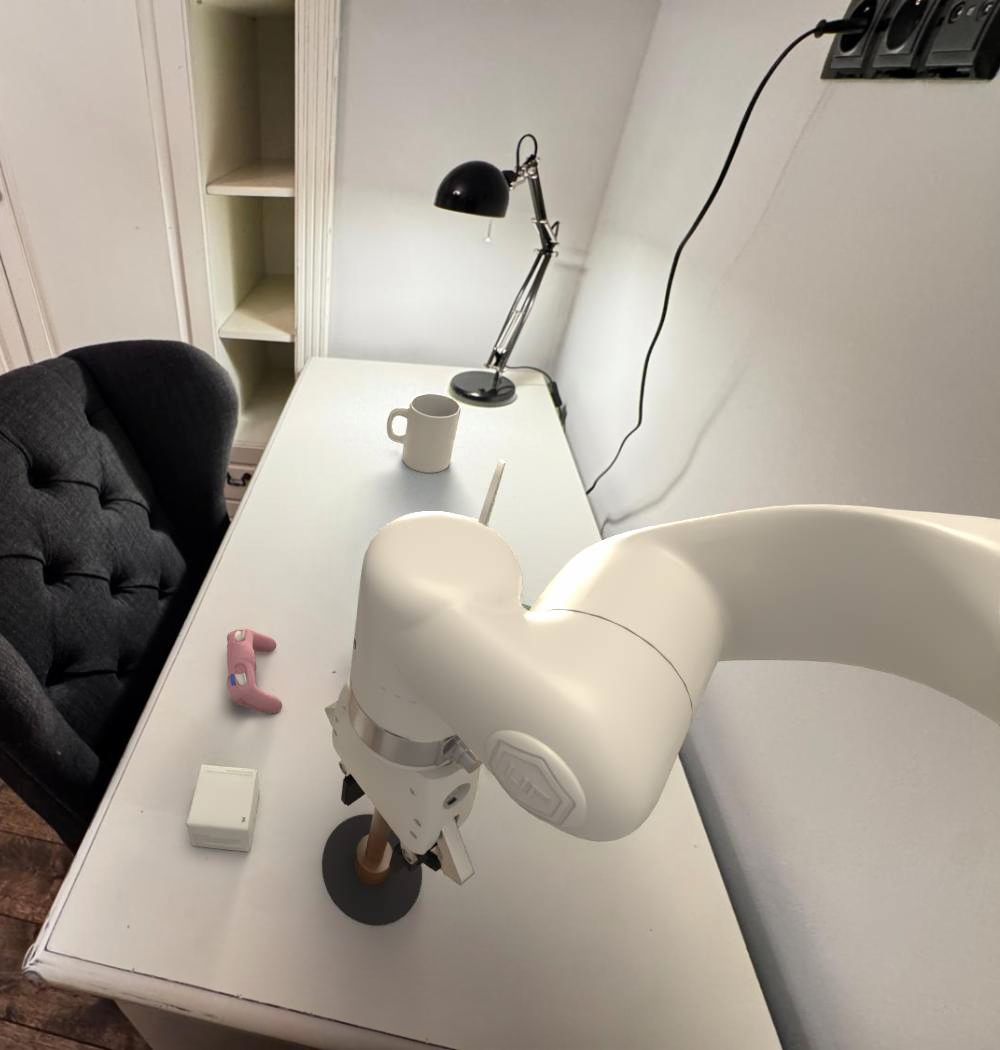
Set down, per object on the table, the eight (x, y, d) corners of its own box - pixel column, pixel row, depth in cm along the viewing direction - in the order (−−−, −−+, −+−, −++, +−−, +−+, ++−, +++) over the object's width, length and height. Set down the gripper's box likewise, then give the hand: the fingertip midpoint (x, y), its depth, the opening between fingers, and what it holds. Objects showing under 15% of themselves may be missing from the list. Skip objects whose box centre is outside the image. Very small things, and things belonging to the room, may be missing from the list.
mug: (453, 452, 104) (464, 397, 97) (446, 477, 98) (457, 421, 91) (388, 440, 107) (395, 386, 100) (378, 464, 101) (384, 409, 94)
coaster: (442, 882, 51) (443, 881, 50) (363, 950, 47) (363, 949, 47) (378, 797, 56) (378, 795, 56) (303, 851, 53) (303, 850, 52)
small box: (260, 791, 57) (258, 768, 54) (251, 853, 52) (248, 832, 49) (204, 786, 57) (199, 762, 54) (190, 847, 53) (183, 825, 50)
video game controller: (247, 654, 71) (217, 624, 67) (279, 641, 70) (251, 610, 66) (250, 726, 64) (217, 698, 59) (286, 713, 63) (255, 683, 58)
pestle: (397, 871, 51) (418, 801, 42) (369, 893, 50) (385, 826, 41) (374, 839, 53) (390, 766, 44) (347, 859, 52) (358, 789, 43)
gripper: (572, 783, 30) (494, 897, 42) (369, 586, 41) (353, 721, 53) (473, 869, 27) (419, 967, 39) (281, 631, 38) (285, 764, 50)
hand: (381, 824), depth 46 cm, fingers open, 5 cm apart
